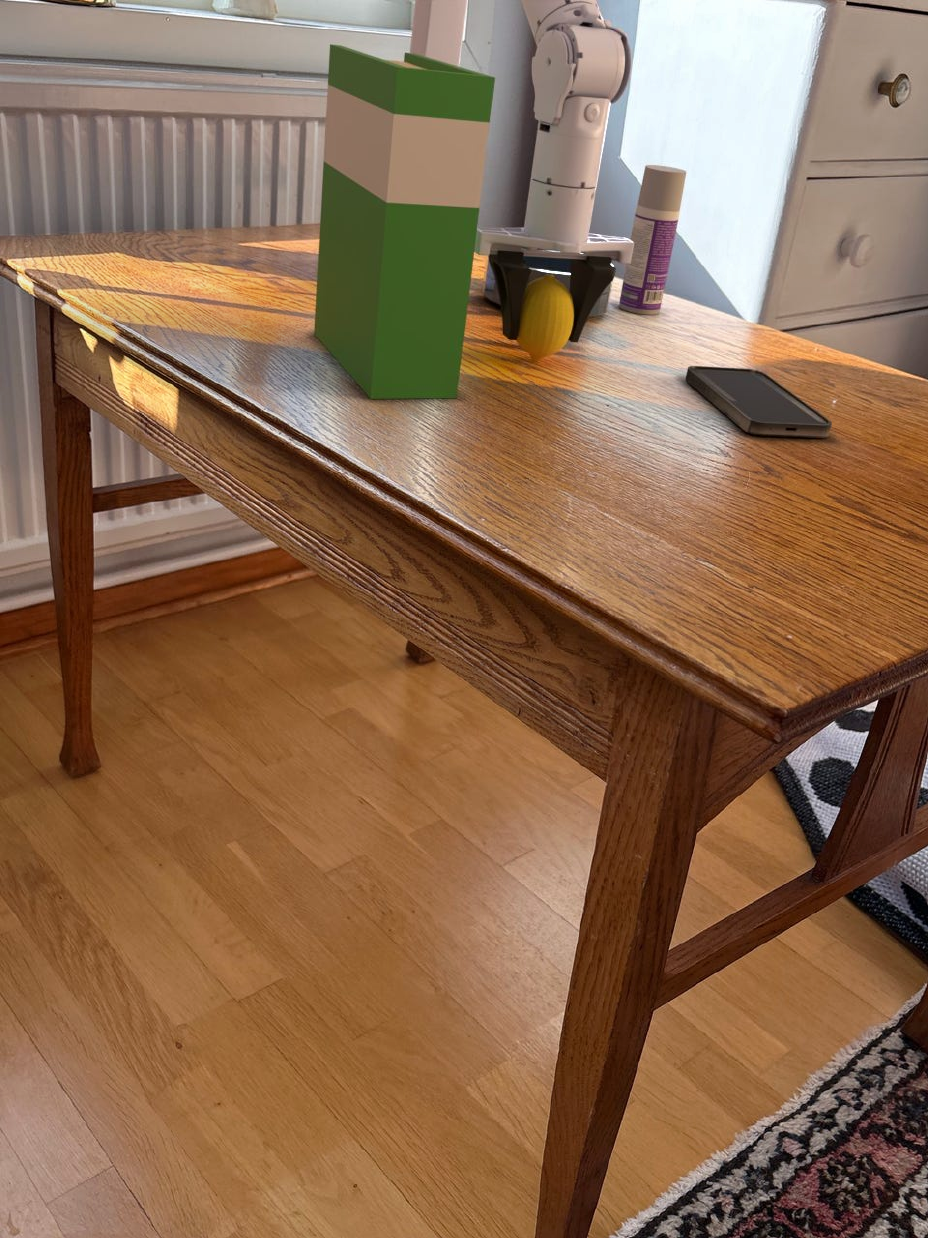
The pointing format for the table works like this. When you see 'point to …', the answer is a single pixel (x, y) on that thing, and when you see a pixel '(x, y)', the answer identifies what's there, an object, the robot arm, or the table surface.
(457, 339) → the green cereal box
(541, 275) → the bowl
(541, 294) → the lemon
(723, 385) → the phone
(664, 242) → the container
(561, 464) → the table surface
